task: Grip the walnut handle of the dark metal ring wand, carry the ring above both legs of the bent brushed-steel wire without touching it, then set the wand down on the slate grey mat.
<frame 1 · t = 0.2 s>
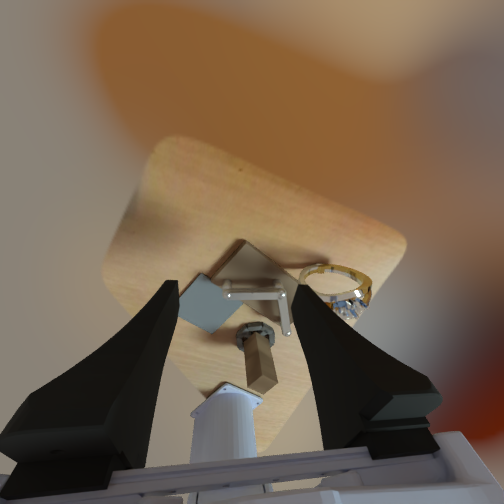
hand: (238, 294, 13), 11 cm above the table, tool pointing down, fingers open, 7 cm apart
bent wire: (266, 286, 26), resting on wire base
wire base: (266, 286, 26), on the table
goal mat: (207, 304, 26), on the table
ring wand: (255, 336, 29), on the table
ring: (317, 265, 25), on the table
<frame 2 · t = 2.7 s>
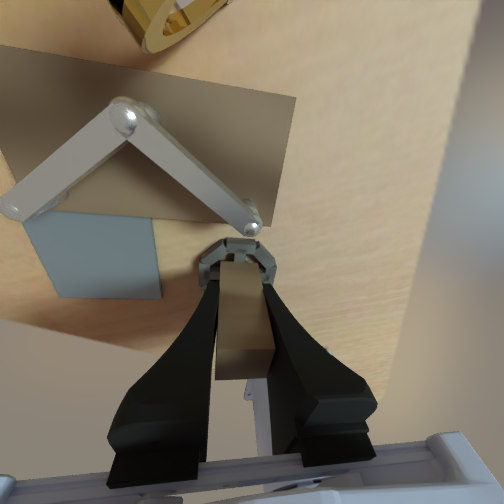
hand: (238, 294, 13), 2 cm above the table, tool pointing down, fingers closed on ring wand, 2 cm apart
bent wire: (158, 153, 10), resting on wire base
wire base: (158, 153, 10), on the table
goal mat: (102, 258, 13), on the table
ring wand: (237, 270, 15), on the table, touching gripper
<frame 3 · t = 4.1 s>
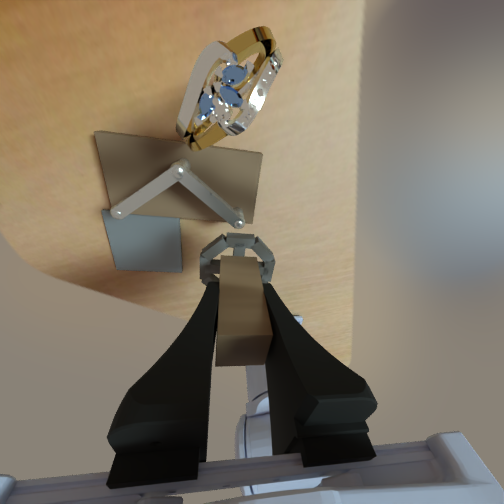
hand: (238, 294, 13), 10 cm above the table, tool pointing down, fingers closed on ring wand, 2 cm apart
bent wire: (186, 181, 18), resting on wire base
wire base: (186, 181, 18), on the table
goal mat: (146, 243, 21), on the table
ring wand: (236, 264, 15), point 6 cm above the table, touching gripper
ring: (227, 102, 15), on the table
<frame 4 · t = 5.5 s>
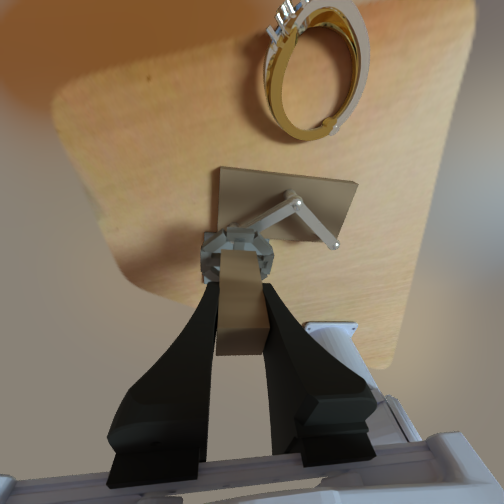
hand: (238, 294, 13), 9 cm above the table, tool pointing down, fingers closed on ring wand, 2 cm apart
bent wire: (282, 206, 20), resting on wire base
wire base: (282, 206, 20), on the table
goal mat: (235, 260, 23), on the table
ring wand: (236, 257, 16), point 6 cm above the table, touching gripper
ring: (333, 135, 17), on the table
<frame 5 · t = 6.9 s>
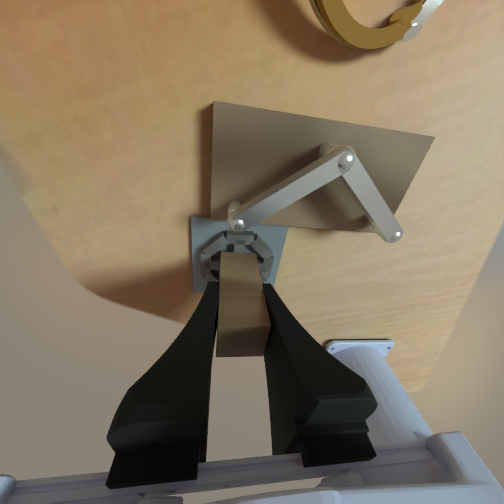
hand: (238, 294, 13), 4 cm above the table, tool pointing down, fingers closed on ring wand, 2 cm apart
bent wire: (310, 176, 13), resting on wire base
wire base: (310, 176, 13), on the table
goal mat: (236, 258, 16), on the table
ring wand: (236, 260, 16), resting on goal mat, touching gripper
ring: (406, 44, 10), on the table
when the fingers open (4 cm above the table, at t = 7.6 s): ring wand stays where it is, resting on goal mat.
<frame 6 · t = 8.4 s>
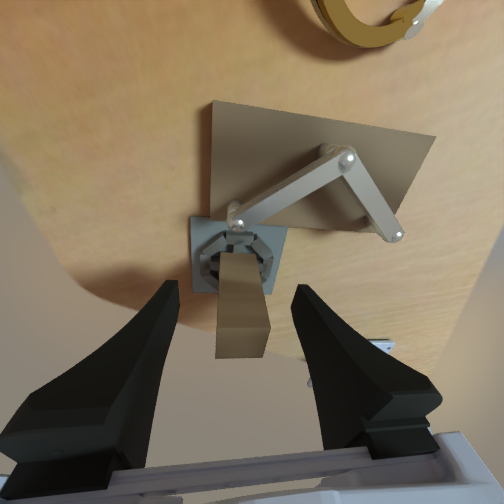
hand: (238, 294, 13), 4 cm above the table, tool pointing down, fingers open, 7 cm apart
bent wire: (310, 176, 13), resting on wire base
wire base: (310, 176, 13), on the table
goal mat: (236, 259, 16), on the table
ring wand: (236, 261, 16), resting on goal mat
ring: (407, 42, 10), on the table
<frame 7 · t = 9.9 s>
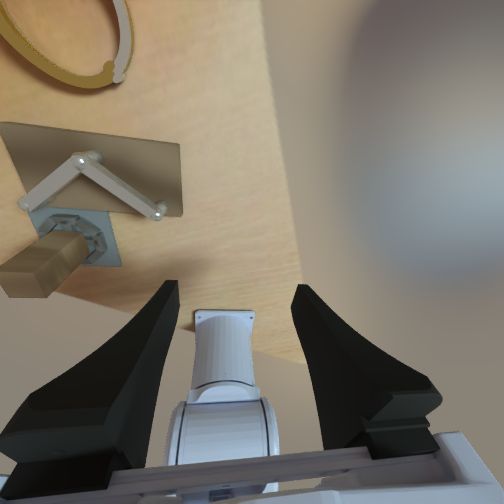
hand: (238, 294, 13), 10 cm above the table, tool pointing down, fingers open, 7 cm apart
bent wire: (107, 173, 18), resting on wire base
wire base: (107, 173, 18), on the table
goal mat: (79, 237, 21), on the table
ring wand: (76, 238, 20), resting on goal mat
ring: (125, 83, 14), on the table
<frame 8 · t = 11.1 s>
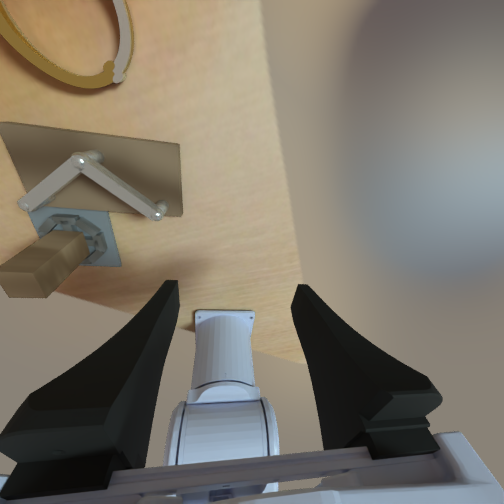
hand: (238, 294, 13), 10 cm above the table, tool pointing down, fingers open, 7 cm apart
bent wire: (107, 173, 18), resting on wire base
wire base: (107, 173, 18), on the table
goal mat: (79, 237, 21), on the table
ring wand: (76, 238, 20), resting on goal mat
ring: (125, 83, 14), on the table
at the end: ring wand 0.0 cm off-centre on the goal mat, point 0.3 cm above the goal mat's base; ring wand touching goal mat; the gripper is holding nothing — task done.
